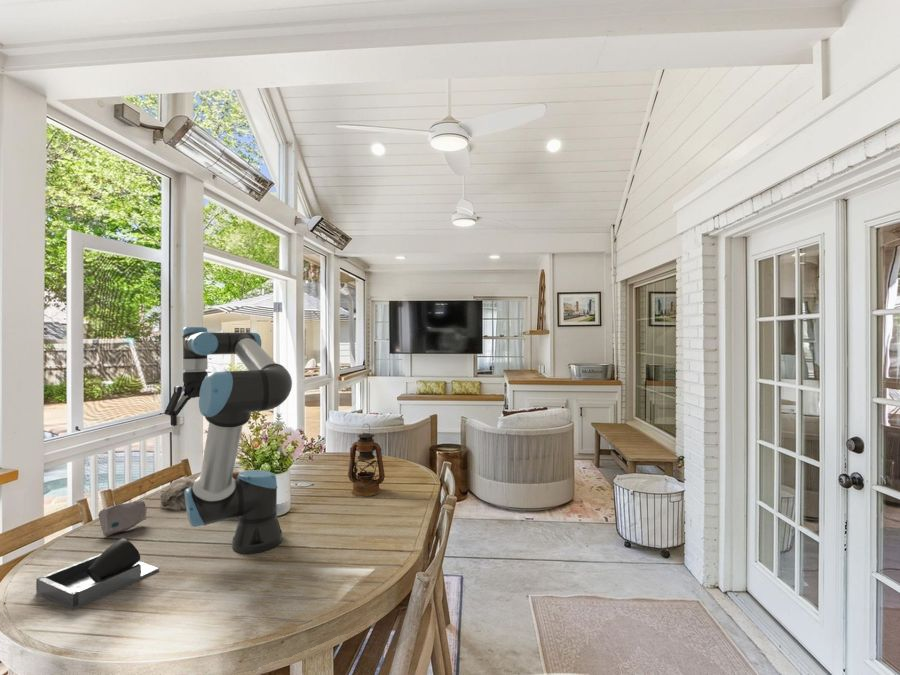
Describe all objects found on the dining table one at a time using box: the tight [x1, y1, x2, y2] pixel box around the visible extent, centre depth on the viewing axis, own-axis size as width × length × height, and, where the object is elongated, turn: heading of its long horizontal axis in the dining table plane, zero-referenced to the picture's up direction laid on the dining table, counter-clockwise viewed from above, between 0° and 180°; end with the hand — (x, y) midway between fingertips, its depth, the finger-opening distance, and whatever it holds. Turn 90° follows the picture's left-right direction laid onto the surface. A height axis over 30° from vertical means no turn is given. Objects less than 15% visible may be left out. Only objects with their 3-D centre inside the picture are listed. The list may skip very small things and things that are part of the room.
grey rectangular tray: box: [35, 553, 160, 612], centre depth 123 cm, size 17×21×4 cm
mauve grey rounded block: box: [97, 500, 148, 537], centre depth 156 cm, size 13×10×6 cm
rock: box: [159, 478, 194, 511], centre depth 181 cm, size 15×12×10 cm
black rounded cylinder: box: [87, 537, 141, 582], centre depth 123 cm, size 8×12×10 cm
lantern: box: [347, 423, 386, 497], centre depth 196 cm, size 17×13×30 cm
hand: (195, 431), depth 157 cm, fingers open, 13 cm apart
